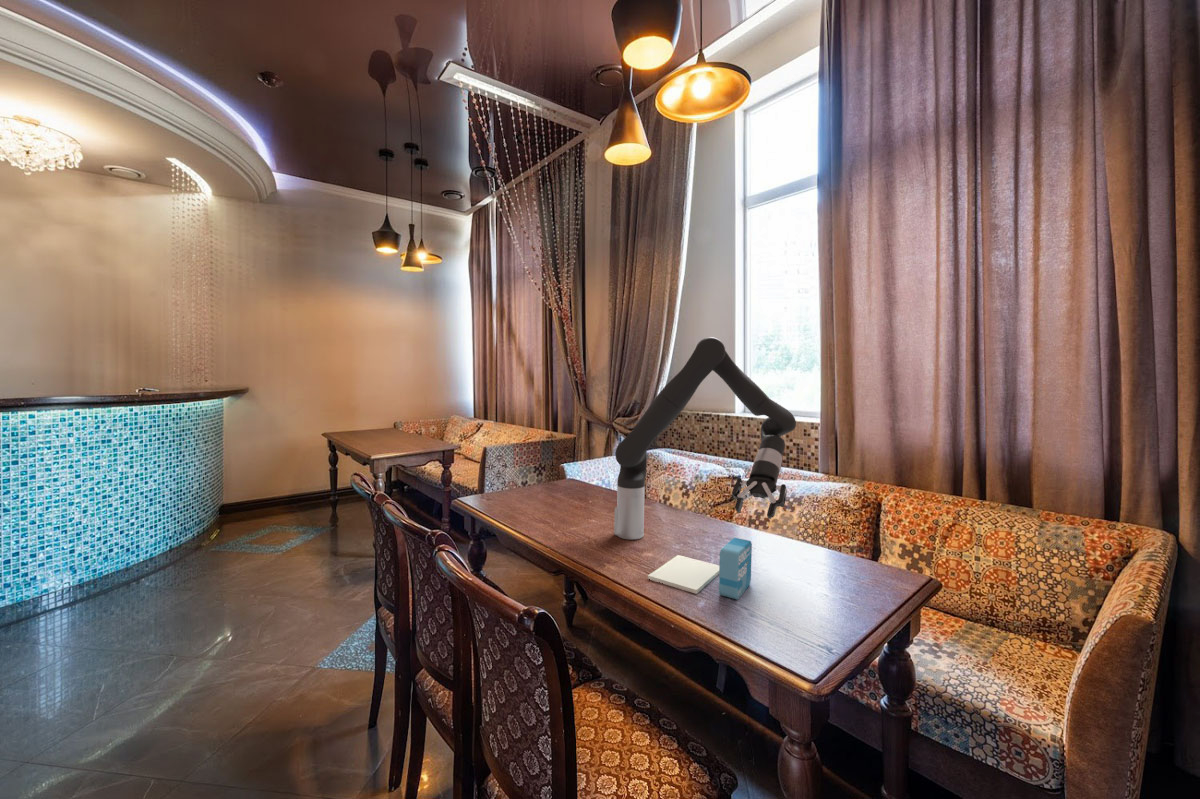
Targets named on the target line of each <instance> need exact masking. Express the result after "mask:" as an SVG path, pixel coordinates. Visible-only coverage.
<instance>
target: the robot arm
mask: <svg viewBox="0 0 1200 799" xmlns="http://www.w3.org/2000/svg"><path fill="white" fill-rule="evenodd" d="M712 371H713V372H714V373H715V374H717V375H718V376H719V378H721V379H722V380H723V382H724V383H725V384H726V385H727V386H728V387H729V389H730V390H731V391H732V393H733V394H734V395H735V397H737V398H738V400H739V401H740V402H741V403H742V404H743V405H744V406H745V408H746V409H748V411H749V412H750V413H752V415H754V416H756V417H759V416H765V417H766V418H765V419H764V420H763V422H762V423H761V426H760V443H759V447H758V451H757V454H756V455H755V458H754V461H753V465H752V467H751V471H750V474H749V478H748V479H747V480H743V479H742V477H738V478H737V479H736V482H735V484H734V487H733V489H732V492H731V495H732V497H733V499H734V500H736V501H735V504H734V509H735V511H736V513H737V514H741V513H742V512H741V511H742V509H743V505H744V501H746V500H748V499H750V498H752V497H753V498H760V499H766V498H767V499H768V501H769V502H770V503H769V505H768V510H767V512H766V516H767V519H768V520H769V519H770V520H771V519H772V518H774V517H775V514H776V512H777V508H784V507H785V504H786V499H787V495H788V494H787V493H788V489H787V486H786V484H784V483H781V485H777V483H778V479H779V476H780V473H781V472H780V471H781V469H782V463H783V462H782V460H783V456H784V452H785V448H786V443H785V442H786V441H785V440H784V439H783V438H782V437H783V436H785V435H786V434H789V433H791V432H792V431H794V430H795V429H796V426H797V420H796V418H795V416H794V414H793V413H792V412H791V411H790V410H788V409H787V408H785V407H784V406H782V405H781V404H779V403H778V402H776V401H775V400H773V399H771V398H770V397H769V396H768V395H767V394H766V393H765V392H764V391H763V390H762V388H761V387H760V386H759V385H757V383H756V382H754V381H753V380H752V379H751V378H750V377H749V376H748V375H747V374H746V373H745V372H744V371H743V370H742V369H740V368H739V366H738V365H737V364H736V363H735V362H734V360H733V359H732V358H731V357H730V355H729V354H728V352H727V351H726V346H725V345H724V342H723V341H721V340H720V339H718V338H716V337H712V336H707V337H704V338H702V339H701V340H700V341H699V342H698V343H697V345H696V347H695V349H694V350H693V352H692V354H691V356H690V357H689V358H688V360H687V362H685V364H684V366H683V367H682V368H681V370H680V371H679V372H678V373H677V374H676V375H675V376H674V377H672V379H670V381H668V382H667V384H666V385H665V386H664V387H663V388H662V389H661V390H660V391H659V393H658V395H657V396H656V397H655V398H654V399H653V401H652V402H651V404H649V406H648V408H647V410H646V411H645V412H644V414H643V415H642V417H641V418H640V420H639V422H638V423H637V424H636V426H635V427H634V428H633V429H632V430H631V431H630V432H629V434H627V436H625V438H624V439H622V440H621V442H619V443H618V445H617V447H616V449H615V455H614V456H615V460H616V462H617V463H618V464H619V465H620V468H619V473H618V475H617V478H616V479H617V482H616V483H617V484H616V485H617V486H616V487H617V491H616V492H617V493H616V494H617V495H616V499H617V500H616V502H617V503H616V506H615V507H614V524H613V525H614V527H613V529H614V531H613V534H614V535H615V536H617V537H618V538H620V539H623V540H630V541H632V540H639V539H642V538H643V537H644V534H645V533H644V532H645V527H644V526H645V525H644V524H645V489H646V488H645V480H646V476H647V464H648V463H647V462H648V452H647V451H648V449H649V448H650V446H651V444H652V443H653V442H654V440H655V439H656V438H657V437H658V436H659V435H660V434H662V432H663V431H665V430H666V429H667V428H668V427H669V426H670V425H671V424H672V423H673V422H674V421H675V420H676V419H677V417H678V416H679V415H680V413H681V412H682V411H683V410H684V409H685V407H686V406H687V404H688V403H689V401H690V400H691V399H692V397H693V396H694V394H695V392H696V391H697V390H698V388H699V386H700V385H701V383H702V382H703V381H704V380H705V379H706V378H707V377H708V376H709V375H710V373H711V372H712ZM745 486H746V487H745ZM744 487H745V488H744ZM775 492H778V499H776V498H775V497H774V493H775Z"/></svg>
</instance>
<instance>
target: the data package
mask: <svg viewBox="0 0 1200 799" xmlns="http://www.w3.org/2000/svg"><path fill="white" fill-rule="evenodd" d="M752 546H753V544H752V541H751V540H748V539H743V538H738V537H732V538H731V539H730V541H728V542H727V543H726V544H725V545H724V546H723V547H721V549H720V551H719V564H718V565H719V574H718V594H719V595H720V596H723V597H726V598H730V599H733V600H735V601H736V600H739V599H740V598H741V596H742V595H743V594H744V593H745V592H746V590H747V589H748V587H749V586H750V585H751V581H752V555H753V554H752V548H753V547H752Z"/></svg>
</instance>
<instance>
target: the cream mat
mask: <svg viewBox="0 0 1200 799" xmlns="http://www.w3.org/2000/svg"><path fill="white" fill-rule="evenodd" d="M718 576H719V564H716V563H715V564H714V563H711V562H707V561H703V560H700V559H695V558H692V557H687V556H683V555H679V554H677V555H676V556H675V557H673V558H672V559H670V560H668V561H667V562H666V563H664V564H662V566H660V567H658V568H657V569H656V570H654V571H652V572H651V573H649V574H648V575H647V580H649V579H650V581H653V582H656V583H659V582H660V584H662V583H663V585H665V586H669V587H672V588H675V589H679V590H683V591H685V592H688V593H693V594H695V595H697V594H698V593H700V592H701V591H702V590H703V589H704V588H705V587H706V586H708V585H709V584H710V583H711V582H712V581H713V580H714V579H715V578H716V577H718Z"/></svg>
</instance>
